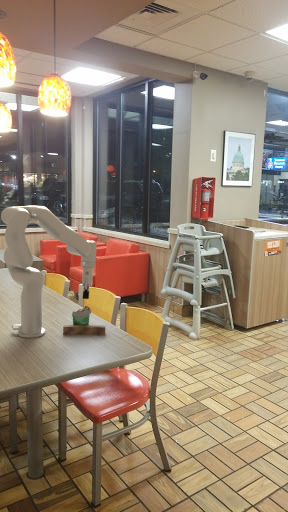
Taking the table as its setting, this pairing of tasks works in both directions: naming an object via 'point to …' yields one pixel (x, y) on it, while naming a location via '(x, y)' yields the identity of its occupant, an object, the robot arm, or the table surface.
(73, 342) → the table surface
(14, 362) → the table surface
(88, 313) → the food container
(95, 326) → the walnut board
